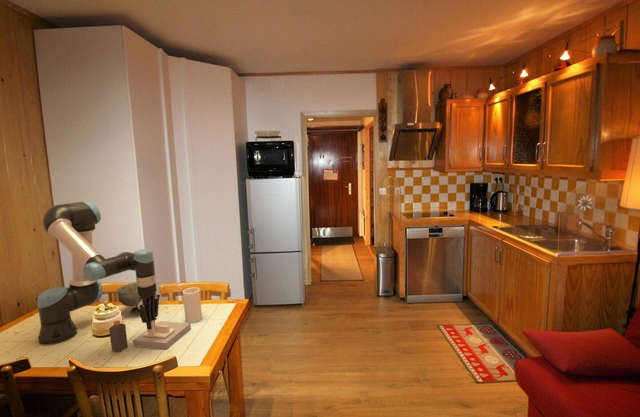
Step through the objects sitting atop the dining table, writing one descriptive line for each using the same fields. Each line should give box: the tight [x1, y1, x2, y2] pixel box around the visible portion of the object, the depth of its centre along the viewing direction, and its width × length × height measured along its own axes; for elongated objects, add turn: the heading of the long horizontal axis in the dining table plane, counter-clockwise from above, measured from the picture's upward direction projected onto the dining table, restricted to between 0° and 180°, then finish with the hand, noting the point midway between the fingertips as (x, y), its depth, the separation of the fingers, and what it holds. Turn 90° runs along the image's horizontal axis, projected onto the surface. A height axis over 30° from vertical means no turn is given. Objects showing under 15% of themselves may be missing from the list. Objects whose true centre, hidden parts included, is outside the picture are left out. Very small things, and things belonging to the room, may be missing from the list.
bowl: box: [117, 281, 157, 316], centre depth 197 cm, size 20×19×15 cm
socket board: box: [132, 320, 192, 350], centre depth 167 cm, size 17×19×3 cm
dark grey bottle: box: [108, 320, 129, 353], centre depth 157 cm, size 4×4×13 cm
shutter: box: [143, 325, 175, 338], centre depth 164 cm, size 12×7×4 cm, turn 78°
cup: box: [182, 287, 203, 324], centre depth 184 cm, size 8×8×16 cm
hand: (151, 334), depth 160 cm, fingers closed
